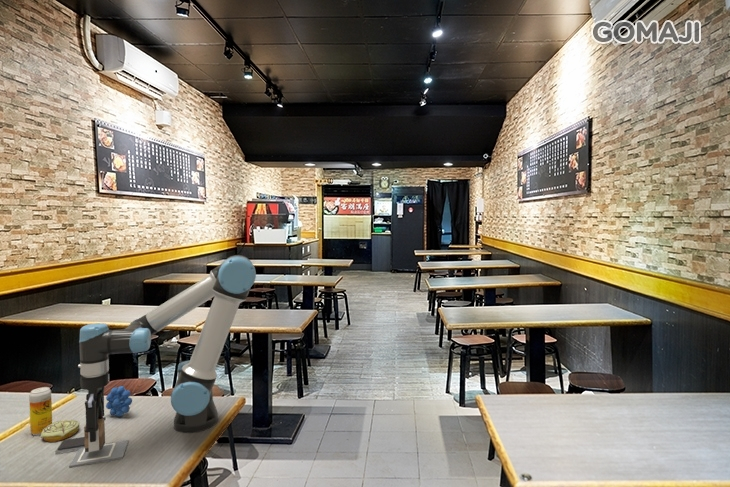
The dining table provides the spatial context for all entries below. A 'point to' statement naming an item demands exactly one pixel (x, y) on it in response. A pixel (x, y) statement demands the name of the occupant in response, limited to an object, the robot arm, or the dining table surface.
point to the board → (100, 454)
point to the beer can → (40, 409)
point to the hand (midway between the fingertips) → (96, 446)
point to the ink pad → (71, 445)
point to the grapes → (118, 401)
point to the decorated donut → (60, 430)
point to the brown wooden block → (101, 435)
